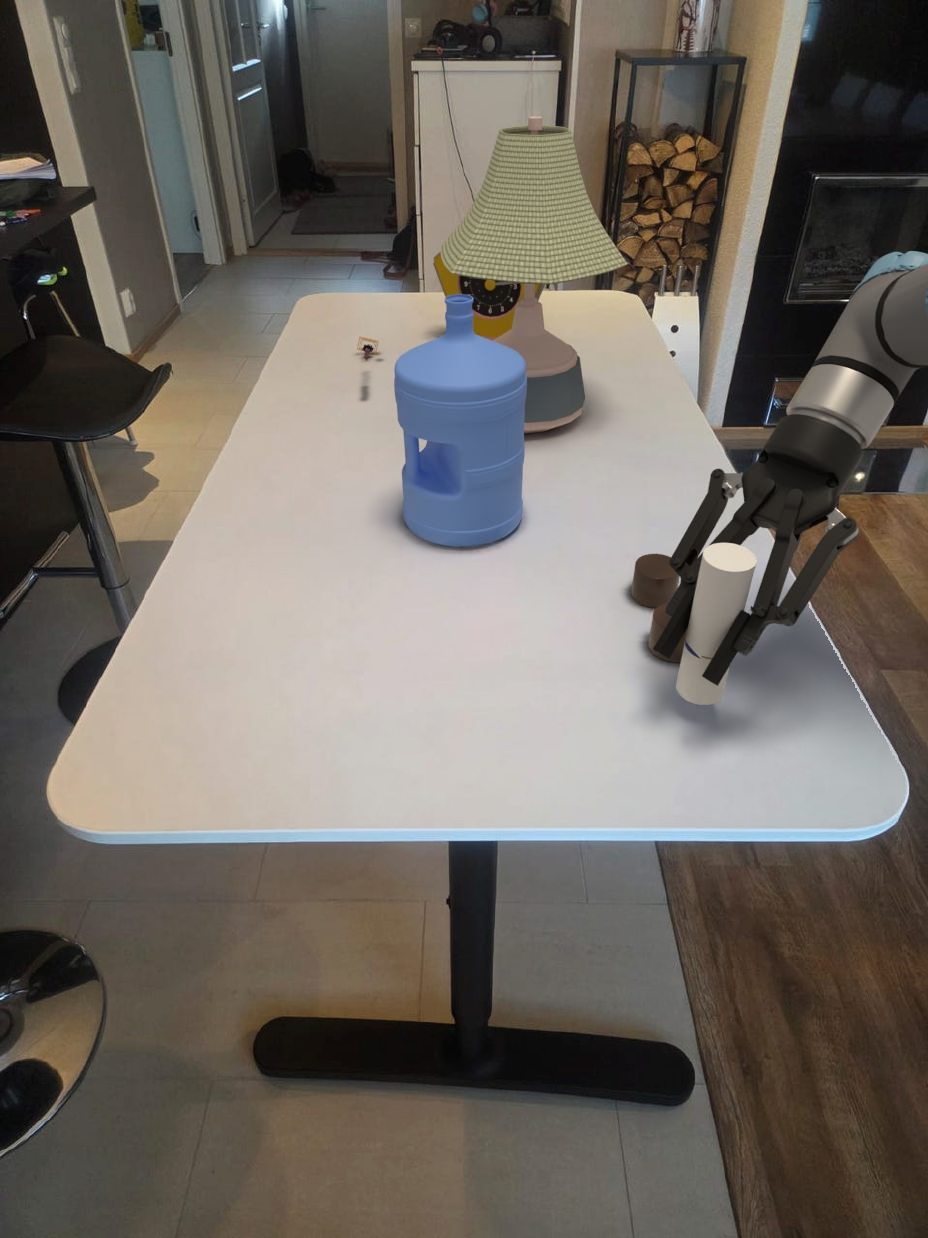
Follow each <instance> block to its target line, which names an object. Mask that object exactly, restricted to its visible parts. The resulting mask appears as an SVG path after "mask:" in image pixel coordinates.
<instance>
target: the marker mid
mask: <svg viewBox="0 0 928 1238" xmlns="http://www.w3.org/2000/svg"><path fill="white" fill-rule="evenodd" d="M668 604H669V603H666V604H662V605H660V606H658V607H657V608H654V610H653V613H652V619H651V624H650V629H649V636H648V644H647V645H648V646H647V647H648V649H649V651H650V652H651V653H652V654H653V656H655V657H657V658H658V659H661V660H662V661H666V662H672V663H681V659H682V654H683V649H684V644H685V640H686V634H687V630H686V632H685V633H684V635H683V637H682V638H681V640H680V642H679V643H678V645H677V647H676V649H675V650H674V652H673V654H672V655H671V657H670V659H668V658H666V657H664V656H663V655H661V654H659V653H658V652H656V651H655V650H653V648H654V646H655V644H656V643H657V641H658V639H659V638H660V636H661V634H662V632H663V631H664V629H665V627H666V626H667V624H668V622H669V621H670V619H671V617H670V616H668V615H667V614H666V613H665V612H666V607H667V605H668ZM687 629H688V628H687Z"/></svg>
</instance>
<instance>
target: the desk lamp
mask: <svg viewBox="0 0 928 1238" xmlns="http://www.w3.org/2000/svg"><path fill="white" fill-rule="evenodd" d="M578 159H579V158H578V155H577V151H576V146H575V142H574V137H573V133H572V130H571V129H569V128H567V127H564V126H557V125H543V117H542V116H528V119H527V125H518V126H509V127H503V128H500V129H499V131H498V134H497V137H496V140H495V143H494V146H493V151H492V154H491V156H490V160H489V164H488V167H487V171H486V173H485V176H484V178H483V181H482V184H481V187H480V190H479V192H478V194H477V195H476V198H475V199H474V201H473V203H472V205H471V207H470V209H469V211H467V213H466V214H465V215H464V217H463V219H462V220H461V221H460V223H459V224H458V225H457V226H456V228H455V229H454V230H453V232H452V233H451V234H450V235H449V237H448V238H446V240H445V242H443V244H442V245H441V246H440V251H441V258H442V261H443V263H444V265H445V267H446V268H447V269H448V270H449V271H450V272H451V273H452V274H454V275H459V276H465V277H471V278H477V279H485V280H493V281H502V282H512V283H522V284H524V297H523V298H521V302H518V303H517V304H516V307H515V313H514V319H513V324H512V329H511V330H509V331H508V332H506V333H504V334H503V335H501V336H499V337H498V338H496V339H494V340H493V341H494V342H496V343H499V344H502V345H504V346H507V347H509V348H511V349H513V350H515V351H516V352H518V353H519V354H520V355H521V356H522V357H523V359H524V360H525V363H526V376H527V394H526V400H525V419H524V434H533V433H543V432H546V431H550V430H553V429H556V428H559V427H562V426H565V425H567V424H569V423H571V422H573V421H574V420H576V419H577V418H578V417H579V416H581V415H582V413H583V410H584V405H585V400H586V393H585V385H584V379H583V371H582V364H581V363H582V362H581V357H580V356H579V355H578V352H577V350H576V349H575V348H574V347H573V346H572V345H571V344H569V343H567V342H565V341H564V340H562V339H560V338H559V337H558V336H556V335H554V334H552V333H551V332H549V331H548V330H547V329H546V327H545V319H544V311H543V310H544V309H543V304H542V302H540V301H538V302H537V298H535V284H545V285H555V284H563V283H568V282H574V281H578V280H582V279H586V278H591V277H596V276H599V275H603V274H607V273H610V272H613V271H615V270H618V269H621V268H625V267H626V266H627V265H628V262H627V261H626V259H625V258H624V257H623V255H622V253H621V251H620V250H619V249H618V247H617V246H616V245H615V243H614V242H613V240H612V239H611V237H610V236H609V234H608V232H607V231H606V229H605V228H604V226H603V224H602V222H601V221H600V219H599V217H598V216H597V213H596V212H595V209H594V207H593V205H592V202H591V200H590V197H589V195H588V192H587V189H586V186H585V182H584V179H583V176H582V171H581V168H580V164H579V160H578Z"/></svg>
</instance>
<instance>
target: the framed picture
mask: <svg viewBox="0 0 928 1238" xmlns="http://www.w3.org/2000/svg"><path fill="white" fill-rule="evenodd" d="M364 341H366V342H369V344H363V342H364ZM370 343H372V344H370ZM378 345H379V340H375V339H372V338H367V337H363V336H359V338H358V344H357V347H356V350H357V351H361V352H364V354H363V356H364V357H365V358H369V356H370V354H374V355H376V353H377V352H378V351H377V350H378ZM362 346H363V347H362Z"/></svg>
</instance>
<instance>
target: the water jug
mask: <svg viewBox="0 0 928 1238" xmlns="http://www.w3.org/2000/svg"><path fill="white" fill-rule="evenodd" d="M444 303H445V308H446V310H445V313H444V319H445V332H444V334H443V335H441V336H438V337H436V338H434V339H431V340H429V341H426V342H424V343H421V344H419V345H417V346H415V347H412V348H411V349H408V350H407V351H405V352H404V353H402V354H401V355H400V356H399V357H398V358H397V360H396V361H395V364H394V379H393V389H394V398H395V403H396V413H397V422H398V424H399V427H400V428H401V429H402V431H403V445H404V459H405V460H404V462H405V463H404V464H403V466H402V469H401V485H402V497H403V498H402V513H403V514H402V515H403V519H404V522H405V525H406V526H407V527H408V529H409V530H410V531H411V532H412V533H414V534H415V535H416V536H418V537H419V538H421V539H423V540H425V541H427V542H430V543H433V544H435V545H441V546H446V547H452V548H453V547H457V548H466V547H467V548H469V547H470V548H471V547H477V546H483V545H487V544H491V543H494V542H497V541H499V540H501V539H503V538H505V537H507V536H509V535H510V534H511V533H512V532H513V531H515V529H516V528H517V527H518V526H519V524H520V522H521V520H522V518H523V511H524V508H523V506H524V499H523V478H524V477H523V476H524V475H523V473H524V463H525V454H526V453H525V451H526V450H525V448H526V446H525V445H526V443H525V433H524V419H525V400H526V394H527V376H526V363H525V360H524V359H523V357H522V356H521V355H520V354H519V353H518V352H516V351H515V350H513V349H511V348H509V347H507V346H504V345H502V344H499V343H496V342H494V341H491V340H489V339H486V338H483V337H481V336H478V335H476V334H475V333H474V331H473V318H474V314H473V312H472V303H473V297H472V296H469V295H464V294H456V295H450V296H447V297H444ZM420 440H423V441H426V443H425V446H424V448H423V449H421V450H420Z"/></svg>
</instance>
